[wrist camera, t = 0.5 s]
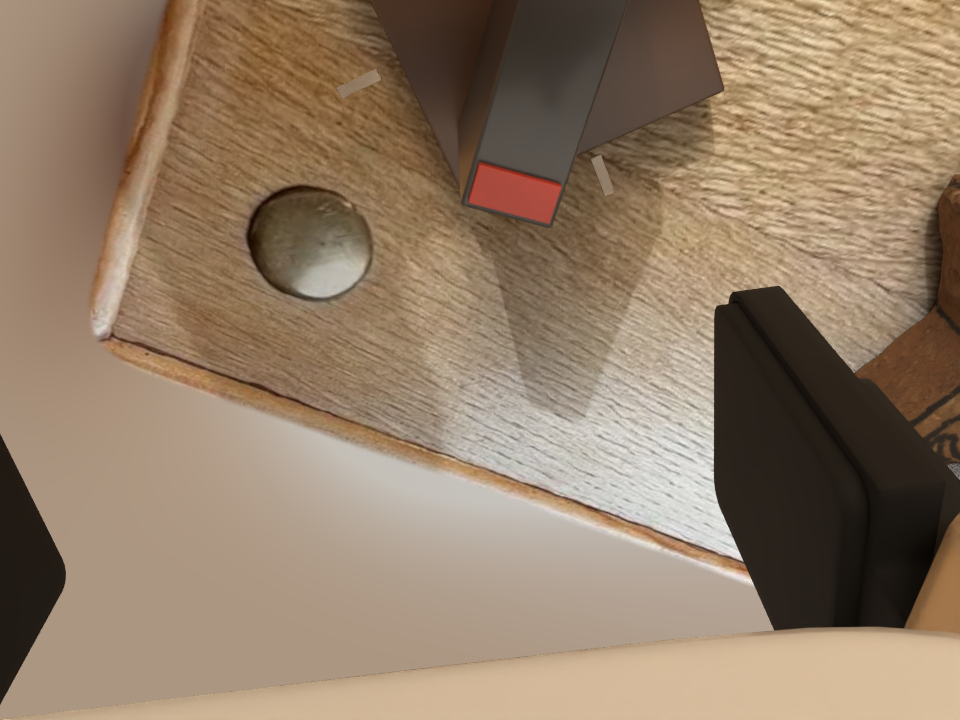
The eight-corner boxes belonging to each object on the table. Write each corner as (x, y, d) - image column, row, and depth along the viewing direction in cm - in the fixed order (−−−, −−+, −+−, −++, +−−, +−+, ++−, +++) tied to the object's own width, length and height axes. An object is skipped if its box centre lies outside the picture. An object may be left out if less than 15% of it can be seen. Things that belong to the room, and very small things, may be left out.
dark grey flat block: (543, -188, 23) (580, -216, 17) (626, -160, 23) (693, -176, 17) (456, 134, 27) (460, 209, 21) (528, 153, 27) (552, 233, 21)
